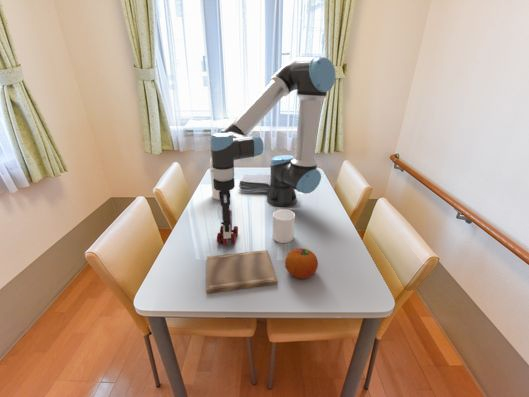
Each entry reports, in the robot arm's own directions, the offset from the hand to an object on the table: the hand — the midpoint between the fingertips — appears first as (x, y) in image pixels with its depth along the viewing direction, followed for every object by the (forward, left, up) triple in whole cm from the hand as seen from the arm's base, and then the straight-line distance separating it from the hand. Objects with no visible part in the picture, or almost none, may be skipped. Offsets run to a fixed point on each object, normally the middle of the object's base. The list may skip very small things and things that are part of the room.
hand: (226, 228), depth 104 cm
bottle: (+2, -39, -5) cm, 39 cm away
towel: (-19, -47, -6) cm, 50 cm away
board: (-3, +20, -5) cm, 21 cm away
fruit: (-23, +24, -5) cm, 34 cm away
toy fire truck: (0, 0, -5) cm, 5 cm away
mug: (-23, +1, -5) cm, 23 cm away
